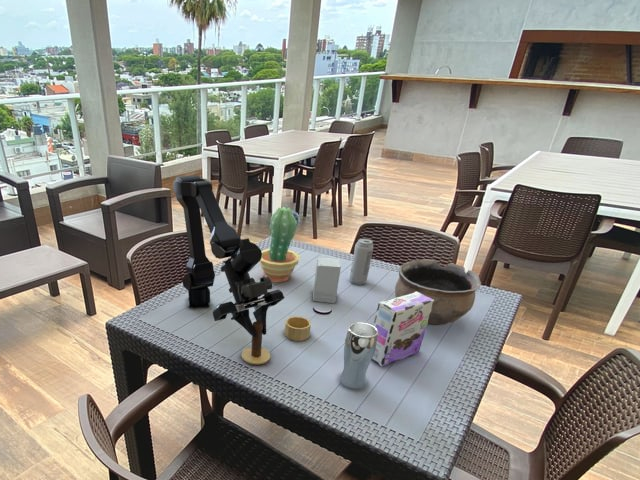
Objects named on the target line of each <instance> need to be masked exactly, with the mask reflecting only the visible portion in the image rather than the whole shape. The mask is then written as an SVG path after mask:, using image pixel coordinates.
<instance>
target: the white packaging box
mask: <svg viewBox="0 0 640 480" xmlns="http://www.w3.org/2000/svg"><path fill="white" fill-rule="evenodd" d="M341 264H342V263H341V259H340V258H331V257H317V260H316V266H315V275H314V281H313V282H314V283H313V289H312V302H318V303H319V302H320V303H331V304H335V303H336V299H337V293H338V287H339V282H340V275H341V274H340V273H341V269H342V265H341Z"/></svg>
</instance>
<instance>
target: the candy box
mask: <svg viewBox="0 0 640 480" xmlns="http://www.w3.org/2000/svg"><path fill="white" fill-rule="evenodd" d="M433 303H434V300H433V299H431V298H429V297H427V296H425V295H423V294H421V293H419V292H414V293H412V294H408V295H404V296H401V297H397V298H396V297H394V298H390V299H387V300H383V301H379V302H378V305H377V308H376V313H375V318H374V321H373V326H374V327H376V328H377V330H378V337H377V344H376V349H375V352H374V355H373V358H372V360H371V361H373V362H375V363H376V364H377V365H378V366H380V367H386V366H388V365H390V364H393V363H396V362H399V361H401V360H404V359H407V358H410V357H413V356H416V355H418V354H419V353H420V350H421V346H422V343H423V340H424V336H425V334H426V329H427V326H428V320H429V317H430V313H431V310H432V307H433Z"/></svg>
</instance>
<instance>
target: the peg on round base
mask: <svg viewBox="0 0 640 480" xmlns="http://www.w3.org/2000/svg"><path fill="white" fill-rule="evenodd" d="M252 324H253V327H254V329H255V332H256V336H257V337H256V338H253V337H252V336H251V346H249V347H247V348H244V350H242V352H241V358H242V360H243V361H244V362H246V363H247V364H251V365H264V364H266V363H268V362H269V361H270V360H271V353H270V351H269V350H268V349H266V348H264V347H263V345H262V344H263V334H262V332H263V323H262V322H260V321H256V320H255V321H253V322H252Z"/></svg>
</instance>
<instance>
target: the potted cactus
mask: <svg viewBox="0 0 640 480" xmlns="http://www.w3.org/2000/svg"><path fill="white" fill-rule="evenodd" d="M269 222H270V223H269V224H270V225H269V229H270V230H269V231H270V237H271V239H270V245H269V248H267V249H263V250H261V252H262V258H261V260H260V261H259V262H258V263H259V265H260V268H261V270H262V271H263V273H264V277H267V276H269V277H270V279H271V282H276V283H281V282H286V281H288V280H289V278H290V275H291V274H292V273H293V271H294V270H295V267H296V266H297V265H298V264H299V260H300V258H301V255H299V254H298V252H296V251H293V250H290V249H289V248H290V245H291V243H292V240H293V238H294V237H295V235H296V231H297V228H299V227H300V223H301V217H300V215H299V213H298V212H297V211H295V210H293V209H292V208H291V207H287V208H286V207H285V206H282V207H278V208H277V209H276V210H275V211H274V213H273V214H272V216H271V217H270V221H269Z"/></svg>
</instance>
